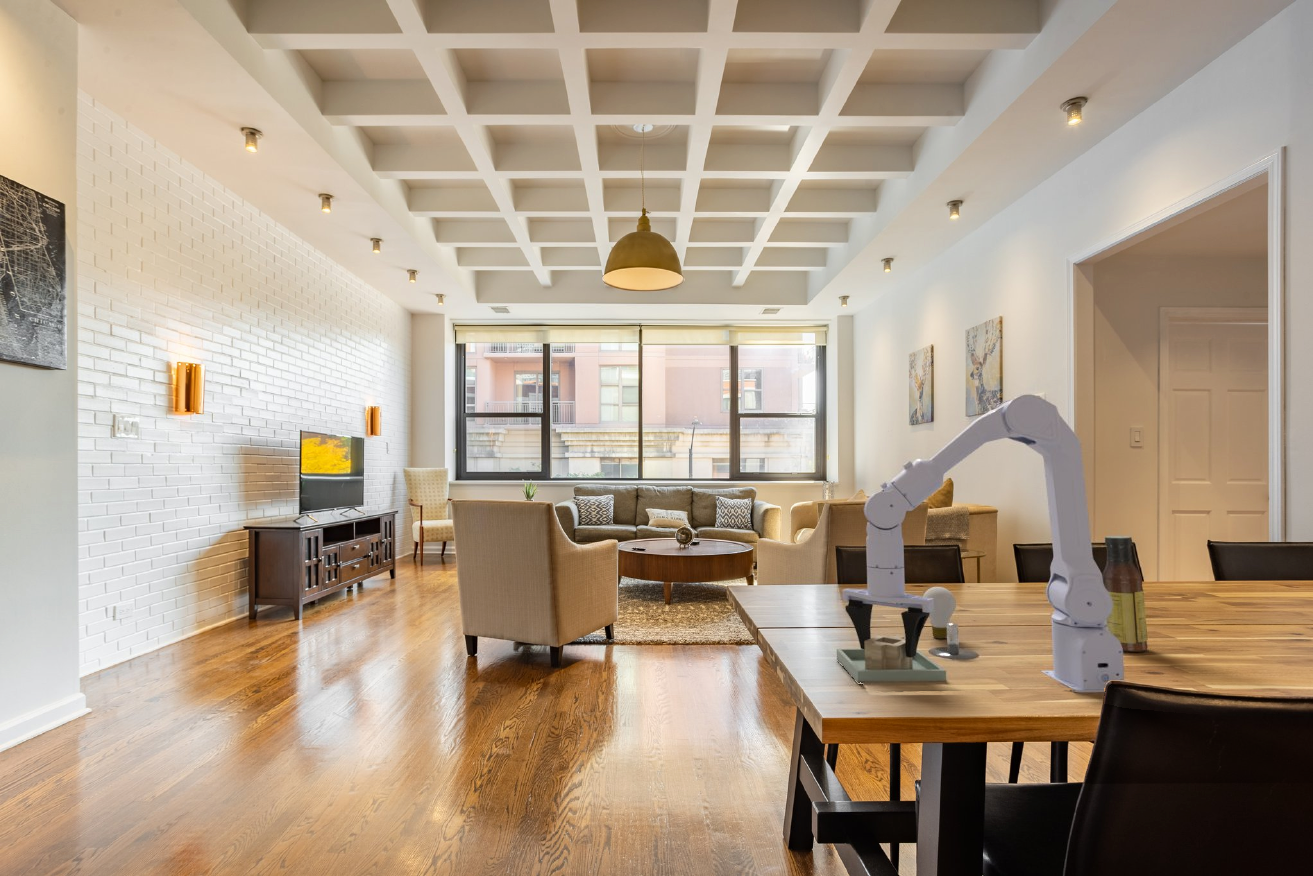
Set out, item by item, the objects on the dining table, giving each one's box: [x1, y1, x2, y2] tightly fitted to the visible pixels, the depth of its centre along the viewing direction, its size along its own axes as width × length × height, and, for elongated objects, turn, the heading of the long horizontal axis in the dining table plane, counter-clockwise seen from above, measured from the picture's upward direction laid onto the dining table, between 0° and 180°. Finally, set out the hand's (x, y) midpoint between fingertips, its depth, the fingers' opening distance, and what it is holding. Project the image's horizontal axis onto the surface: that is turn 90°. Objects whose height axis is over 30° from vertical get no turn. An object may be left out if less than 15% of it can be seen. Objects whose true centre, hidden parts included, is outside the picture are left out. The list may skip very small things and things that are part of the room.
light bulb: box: [922, 586, 957, 640], centre depth 130 cm, size 6×6×10 cm
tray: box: [836, 648, 947, 683], centre depth 111 cm, size 13×13×2 cm
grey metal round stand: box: [928, 622, 980, 661], centre depth 119 cm, size 8×8×6 cm
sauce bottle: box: [1102, 535, 1149, 653], centre depth 123 cm, size 7×6×20 cm
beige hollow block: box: [865, 634, 913, 670], centre depth 111 cm, size 8×5×4 cm, turn 136°
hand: (887, 652), depth 111 cm, fingers open, 7 cm apart
